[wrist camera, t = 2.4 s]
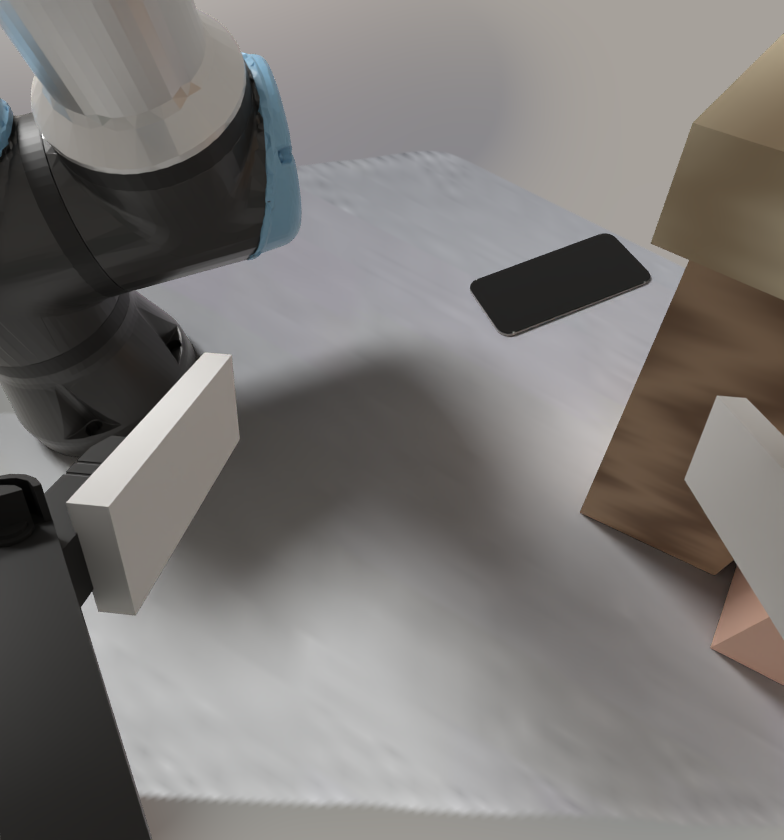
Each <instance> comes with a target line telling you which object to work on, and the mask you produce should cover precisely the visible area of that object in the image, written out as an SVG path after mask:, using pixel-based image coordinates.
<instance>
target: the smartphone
mask: <svg viewBox="0 0 784 840" xmlns="http://www.w3.org/2000/svg"><path fill="white" fill-rule="evenodd" d="M649 278H650V274H649V272H648V271H647V270H646V269H645V268H644V267H643V265H642V264H641V263H640V262H639V261H638V260H637V259H636V258H635V257H634V256H633V255H632V254H631V253H630V252H629V251H628V250H627V249H626V248H625V247H624V246H623V245H622V244H621V243H620V242H619V241H618V240H617V239H616V238H615V237H614V236H613V235H610V234H599V235H596V236H593V237H591V238H588V239H585V240H583V241H580V242H577V243H574V244H572V245H569V246H566V247H564V248H561V249H558V250H555V251H553V252H550V253H547V254H545V255H542V256H539V257H536V258H534V259H531V260H528V261H526V262H523V263H520V264H517V265H515V266H512V267H509V268H506V269H504V270H501V271H498V272H496V273H493V274H490V275H487V276H485V277H482V278H479V279H477V280H475V281H473V282H472V283H471V285H470V292H471V294H472V295H473V297H474V298H475V300H476V301H477V303H478V304H479V306H480V307H481V308H482V310H483V311H484V313H485V314H486V316H487V317H488V319H489V320H490V322H491V323H492V325H493V326H494V328H495V329H496V330H497V332H498V333H500V334H501V335H504V336H512V335H515V334H518V333H520V332H523V331H525V330H528V329H532V328H533V327H536V326H538V325H542V324H544V323H547V322H550V321H551V320H554V319H557V318H560V317H563V316H565V315H567V314H569V313H572V312H574V311H577V310H580V309H582V308H585V307H587V306H590V305H592V304H595V303H598V302H600V301H603V300H605V299H608V298H610V297H613V296H616V295H618V294H621V293H623V292H626V291H628V290H631V289H634V288H636V287H639V286H641V285H644V284H646V283H647V282H648V281H649Z"/></svg>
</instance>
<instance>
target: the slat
mask: <svg viewBox="0 0 784 840" xmlns="http://www.w3.org/2000/svg"><path fill="white" fill-rule="evenodd" d="M651 244H653V245H655V246H658V247H660V248H663V249H665V250H667V251H669V252H672V253H674V254H676V255H679V256H681V257H683V258H686V259H688V260H691V261H693V262H695V263H698V264H700V265H702V266H705V267H707V268H709V269H712V270H714V271H716V272H719V273H721V274H723V275H726V276H728V277H730V278H733V279H735V280H737V281H740V282H742V283H744V284H747V285H749V286H751V287H754V288H756V289H759V290H761V291H763V292H766V293H768V294H770V295H773V296H775V297H777V298H780V299H782V300H784V34H782V35H781V36H780V37H779V38H778V39H777V40H776V41H775V43H773V44H772V45H771V46H770V47H769V48H768V49H767V50H766V51H765V52H764V53H763V54H762V55H761V56H760V57H759V58H758V59H757V60H756V61H755V62H754V63H753V64H752V65H751V66H750V67H749V68H748V69H747V70H746V71H745V72H744V73H743V74H742V75H741V76H740V77H739V78H738V79H737V80H736V81H735V82H734V83H733V84H732V85H731V86H730V87H729V88H728V89H727V90H726V91H725V92H724V93H723V94H722V95H721V96H720V97H719V98H718V99H717V100H716V101H714V102H713V104H712V105H710V106H709V107H708V108H707V109H706V110H705V112H703V113H702V114H701V115H700V116H699V117H698V118H697V119H696V120H695V121H694V122H693V124H692V127H691V129H690V132H689V135H688V138H687V141H686V144H685V147H684V150H683V152H682V155H681V158H680V161H679V164H678V167H677V170H676V173H675V175H674V178H673V181H672V184H671V187H670V190H669V193H668V195H667V198H666V201H665V204H664V207H663V210H662V213H661V215H660V218H659V221H658V224H657V227H656V230H655V233H654V236H653V239H652V242H651Z"/></svg>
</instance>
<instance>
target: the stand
mask: <svg viewBox="0 0 784 840" xmlns="http://www.w3.org/2000/svg"><path fill="white" fill-rule="evenodd" d="M717 396H728V397H740V398H747V399H748V400H749V401H750V402H751V403H752V404H753V405H754V406H755V407H756V408H757V409H758V410H759V411H760V412H761V413H762V414H763V415H764V416H765V417H766V418H767V420H768V421H769V422H770V423H771V424H772V425H773V426H774V427H775V428H776V429H777V430H778V431H779V432H780V433H781V434H782V435H783V436H784V300H782V299H780V298H777V297H775V296H773V295H770V294H768V293H766V292H763V291H761V290H759V289H756V288H754V287H751V286H749V285H747V284H744V283H742V282H740V281H737V280H735V279H733V278H730V277H728V276H726V275H723V274H721V273H719V272H716V271H714V270H712V269H709V268H707V267H705V266H702V265H700V264H698V263H695V262H693V261H691V260H689V262H688V265H687V267H686V269H685V271H684V273H683V276H682V278H681V280H680V283H679V285H678V287H677V290H676V292H675V294H674V297H673V299H672V301H671V303H670V306H669V308H668V310H667V313H666V315H665V317H664V320H663V322H662V324H661V326H660V329H659V331H658V333H657V336H656V338H655V340H654V343H653V345H652V347H651V349H650V352H649V354H648V356H647V359H646V361H645V363H644V366H643V368H642V370H641V373H640V375H639V377H638V379H637V382H636V384H635V386H634V389H633V391H632V393H631V396H630V398H629V400H628V402H627V405H626V407H625V409H624V412H623V414H622V416H621V419H620V421H619V423H618V425H617V428H616V430H615V432H614V435H613V437H612V439H611V442H610V444H609V446H608V449H607V451H606V453H605V455H604V458H603V460H602V462H601V465H600V467H599V469H598V472H597V474H596V476H595V478H594V481H593V483H592V485H591V488H590V490H589V492H588V495H587V497H586V499H585V502H584V504H583V506H582V508H581V511H580V513H582V514H584V515H586V516H588V517H590V518H592V519H595V520H597V521H599V522H601V523H603V524H605V525H607V526H609V527H612V528H614V529H616V530H618V531H620V532H622V533H624V534H627V535H629V536H631V537H633V538H635V539H637V540H639V541H641V542H644V543H646V544H648V545H650V546H652V547H654V548H656V549H659V550H661V551H663V552H665V553H667V554H669V555H671V556H673V557H676V558H678V559H680V560H682V561H684V562H686V563H688V564H691V565H693V566H695V567H697V568H699V569H701V570H703V571H705V572H708V573H710V574H712V575H714V576H715V575H716V574H717V573H718V572H720V571H721V570H722V569H723V568H725V567H726V566H727V565H728V564H730V563H731V562H732V561H733V560H734V559H733V557H732V556H731V554H730V553H729V551H728V549H727V548H726V546H725V544H724V543H723V541H722V540H721V538H720V536H719V535H718V533H717V531H716V530H715V528H714V527H713V525H712V523H711V522H710V520H709V519H708V517H707V515H706V514H705V512H704V510H703V509H702V507H701V506H700V504H699V502H698V501H697V499H696V498H695V496H694V494H693V493H692V491H691V489H690V488H689V486H688V485H687V483H686V481H685V480H684V479H685V476H686V474H687V471H688V469H689V466H690V463H691V461H692V458H693V456H694V453H695V451H696V448H697V445H698V443H699V440H700V438H701V435H702V433H703V430H704V427H705V425H706V422H707V420H708V417H709V415H710V412H711V409H712V407H713V404H714V402H715V399H716V397H717Z"/></svg>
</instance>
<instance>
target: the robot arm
mask: <svg viewBox="0 0 784 840" xmlns="http://www.w3.org/2000/svg"><path fill="white" fill-rule="evenodd" d="M0 27H1V28H2V29H3V31H4V32H5V34H6V35H7V36H8V38H9V39H10V41H11V42H12V43H13V44H14V46H15V47H16V49H17V50H18V52H19V53H20V54H21V56H22V57H23V59H24V60H25V61H26V63H27V64H28V66H29V67H30V68H31V70H32V71H33V73H34V74H35V76H34V79H33V83H32V88H31V107H32V113H29V114H25V115H20V116H13V112H12V111H11V108H10V106H9V105H8V103H7V102H5V101H4V100H2V99H0V384H1V386H2V388H3V390H4V392H5V394H6V396H7V398H8V400H9V401H10V403H11V405H12V407H13V409H14V411H15V413H16V415H17V417H18V419H19V421H20V422H21V424H22V425H23V426H24V427H25V428H26V430H27V431H28V432H30V433H31V434H32V435H33V436H34V437H36V438H37V439H38V440H39V441H41V442H42V443H43V444H44V445H46V446H47V447H48V448H50V449H52V450H54V451H56V452H59V453H62V454H65V455H69V456H77V457H80V458H79V459H78V460H77V461H78V462H77V463H74V464H73V465H72V466H71V467H70V468H69V469H68V470H67V471H66V475H64V474H63V475H62V476H61V477H60V478H59V479H58V480H57V481H56V482H55V483H54V484H53V485H52V486H51V487H50V488H49V489H48V490H47V491H46V492H45V493H44V492H43V489H42V486H41V484H40V482H39V481H38V480H37V479H36V478H34V477H31V476H28V475H25V474H8V475H2V476H0V840H152V837H151V834H150V830H149V827H148V824H147V820H146V818H145V814H144V811H143V808H142V805H141V801H140V798H139V795H138V791H137V788H136V785H135V782H134V778H133V775H132V772H131V769H130V765H129V762H128V759H127V756H126V752H125V749H124V746H123V743H122V740H121V736H120V733H119V730H118V727H117V723H116V720H115V717H114V714H113V710H112V707H111V704H110V701H109V697H108V694H107V691H106V688H105V684H104V681H103V678H102V675H101V672H100V668H99V665H98V662H97V659H96V655H95V652H94V649H93V646H92V642H91V639H90V636H89V633H88V629H87V626H86V623H85V620H84V617H83V613H82V610H81V606H82V605H83V603H84V602H85V601H86V599H87V598H88V596H89V595H90V593H91V592H93V595H94V598H95V602H96V605H97V608H98V612H108V613H118V614H127V615H136V614H137V613H138V611H139V609H140V608H141V606H142V604H143V602H144V601H145V599H146V597H147V596H148V594H149V592H150V591H151V589H152V587H153V586H154V584H155V582H156V580H157V579H158V577H159V575H160V574H161V572H162V570H163V569H164V567H165V565H166V563H167V562H168V560H169V558H170V557H171V555H172V553H173V552H174V550H175V548H176V547H177V545H178V543H179V541H180V540H181V538H182V536H183V535H184V533H185V531H186V530H187V528H188V526H189V525H190V523H191V521H192V519H193V518H194V516H195V514H196V513H197V511H198V509H199V508H200V506H201V504H202V502H203V501H204V499H205V497H206V496H207V494H208V492H209V491H210V489H211V487H212V486H213V484H214V482H215V480H216V479H217V477H218V475H219V474H220V472H221V470H222V469H223V467H224V465H225V464H226V462H227V460H228V458H229V457H230V455H231V453H232V452H233V450H234V448H235V447H236V445H237V443H238V441H239V440H240V436H239V425H238V415H237V405H236V394H235V384H234V373H233V363H232V355H228V354H216V353H205V352H204V354H203V355H202V356H201V357H200V358H199V359H198V360H197V361H196V357H195V352H194V349H193V346H192V344H191V342H190V341H189V339H188V338H187V336H186V334H185V333H184V331H183V330H182V328H181V327H180V325H179V324H178V323H177V322H176V321H175V320H174V319H173V318H172V317H171V316H170V315H169V314H168V313H166V312H165V311H163V310H162V309H161V308H159V307H158V306H156V305H155V304H154V303H152V302H151V301H149V300H148V299H147V298H145V297H144V296H142V295H141V294H140V293H138V292H137V291H135V290H137V289H141V288H145V287H148V286H152V285H156V284H159V283H163V282H167V281H170V280H174V279H178V278H181V277H185V276H188V275H192V274H196V273H199V272H203V271H207V270H210V269H214V268H218V267H221V266H225V265H229V264H232V263H236V262H240V261H243V260H252V259H255V258H256V257H258V256H259V255H260V254H261V253H263V252H266V251H269V250H272V249H275V248H278V247H281V246H283V245H286V244H288V243H289V242H291V241H292V240H293V239H294V238H295V236H296V235H297V233H298V231H299V229H300V225H301V214H302V211H301V196H300V188H299V181H298V174H297V169H296V164H295V160H294V157H293V155H292V153H291V152H292V146H291V141H290V133H289V129H288V124H287V120H286V116H285V112H284V109H283V104H282V101H281V97H280V94H279V91H278V88H277V84H276V81H275V79H274V76H273V74H272V71H271V69H270V67H269V65H268V63H267V62H266V60H265V59H264V58H263V57H261V56H260V55H256V54H250V55H249V54H246V53H243V52H241V51H240V48H239V45H238V44H237V42H236V41H235V40H234V38H233V36H232V35H231V33H230V32H229V31H228V29H227V28H226V27H225V26H223V25H222V24H221V23H220V22H219V21H218V20H216V19H215V18H213V17H212V16H210V15H209V14H207V13H205V12H203V11H201V10H199V9H197V8H196V6H195V3H194V1H193V0H0ZM684 480H685V481H686V483H687V485H688V486H689V488H690V489H691V491H692V493H693V494H694V496H695V498H696V499H697V501H698V502H699V504H700V506H701V507H702V509H703V510H704V512H705V514H706V515H707V517H708V519H709V520H710V522H711V523H712V525H713V527H714V528H715V530H716V531H717V533H718V535H719V536H720V538H721V540H722V541H723V543H724V544H725V546H726V548H727V549H728V551H729V553H730V554H731V556H732V557H733V559H734V561H735V562H736V564H737V565H738V567H739V569H740V570H741V572H742V574H743V575H744V577H745V578H746V580H747V582H748V583H749V585H750V586H751V588H752V590H753V591H754V593H755V595H756V596H757V598H758V599H759V601H760V603H761V604H762V606H763V608H764V609H765V611H766V612H767V614H768V616H769V617H770V619H771V620H772V622H773V624H774V625H775V627H776V629H777V630H778V632H779V633H780V635H781V637H782V638H783V640H784V436H783V435H782V434H781V433H780V432H779V431H778V430H777V429H776V428H775V427H774V426H773V425H772V424H771V423H770V422H769V421H768V420H767V418H766V417H765V416H764V415H763V414H762V413H761V412H760V411H759V410H758V409H757V408H756V407H755V406H754V405H753V404H752V403H751V402H750V401H749V400H748V399H747V398H740V397H728V396H717V397H716V399H715V402H714V404H713V407H712V409H711V412H710V415H709V417H708V420H707V422H706V425H705V427H704V430H703V433H702V435H701V438H700V440H699V443H698V445H697V448H696V451H695V453H694V456H693V458H692V461H691V463H690V466H689V469H688V471H687V474H686V476H685V479H684Z"/></svg>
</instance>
